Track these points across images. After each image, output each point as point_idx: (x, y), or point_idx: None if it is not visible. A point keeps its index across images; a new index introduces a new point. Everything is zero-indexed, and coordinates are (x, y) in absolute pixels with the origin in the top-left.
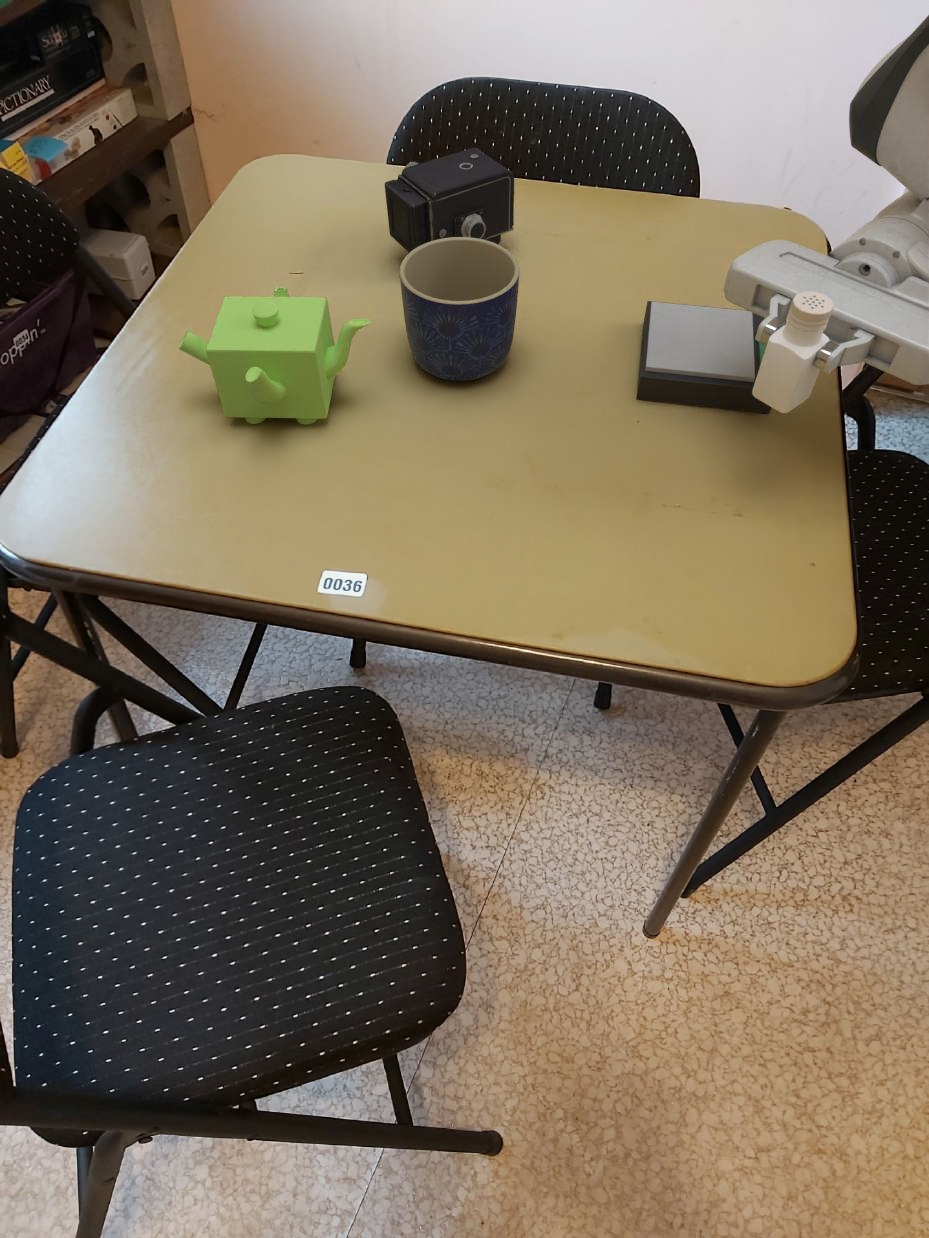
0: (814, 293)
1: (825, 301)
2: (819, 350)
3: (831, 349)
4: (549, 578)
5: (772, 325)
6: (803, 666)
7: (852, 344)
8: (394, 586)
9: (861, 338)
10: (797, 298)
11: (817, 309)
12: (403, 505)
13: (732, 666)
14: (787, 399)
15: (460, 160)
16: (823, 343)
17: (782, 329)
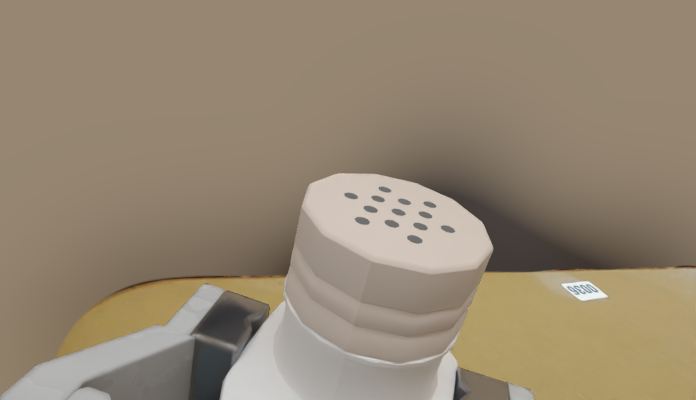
0: (426, 252)
1: (351, 221)
2: (267, 305)
3: (224, 304)
4: None
5: (485, 379)
6: (136, 301)
7: (128, 343)
8: (552, 296)
9: (70, 382)
10: (470, 224)
11: (363, 183)
12: (654, 376)
13: (222, 288)
14: None
15: None
16: (259, 339)
17: (439, 370)
